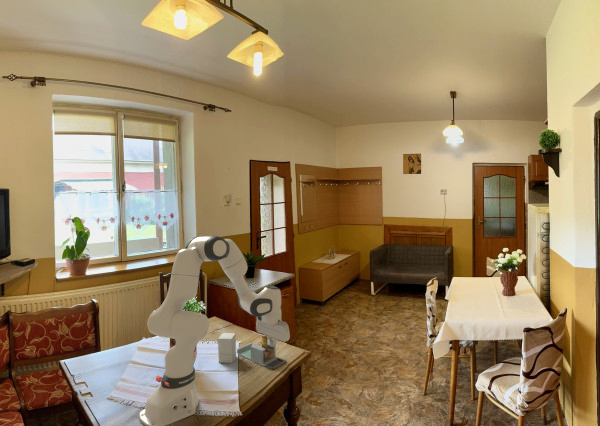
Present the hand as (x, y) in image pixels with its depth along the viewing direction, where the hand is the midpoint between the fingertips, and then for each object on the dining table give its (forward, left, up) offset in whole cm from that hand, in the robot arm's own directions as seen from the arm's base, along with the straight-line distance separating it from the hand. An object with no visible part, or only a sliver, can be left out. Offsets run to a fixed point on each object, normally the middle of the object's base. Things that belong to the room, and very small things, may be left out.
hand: (272, 345), depth 179 cm
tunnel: (0, +8, -9) cm, 13 cm away
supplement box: (-12, +21, -10) cm, 26 cm away
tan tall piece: (0, +6, -8) cm, 10 cm away
